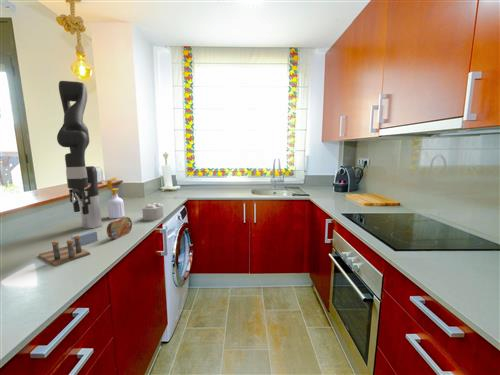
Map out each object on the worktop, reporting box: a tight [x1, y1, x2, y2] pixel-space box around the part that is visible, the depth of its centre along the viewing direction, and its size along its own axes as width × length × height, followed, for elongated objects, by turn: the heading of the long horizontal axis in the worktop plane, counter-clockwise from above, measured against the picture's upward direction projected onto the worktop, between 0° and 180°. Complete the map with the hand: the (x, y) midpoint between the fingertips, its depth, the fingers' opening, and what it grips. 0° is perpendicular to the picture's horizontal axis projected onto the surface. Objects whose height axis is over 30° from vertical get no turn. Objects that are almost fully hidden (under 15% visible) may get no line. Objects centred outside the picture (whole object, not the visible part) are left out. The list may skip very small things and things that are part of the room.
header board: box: [38, 235, 91, 267], centre depth 101 cm, size 16×12×8 cm
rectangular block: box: [70, 230, 98, 246], centre depth 114 cm, size 4×9×4 cm, turn 146°
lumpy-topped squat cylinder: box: [141, 202, 165, 222], centre depth 155 cm, size 10×13×9 cm
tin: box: [106, 216, 133, 240], centre depth 123 cm, size 15×3×8 cm, turn 168°
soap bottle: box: [106, 177, 126, 219], centre depth 157 cm, size 9×9×25 cm
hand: (81, 213), depth 112 cm, fingers open, 8 cm apart
